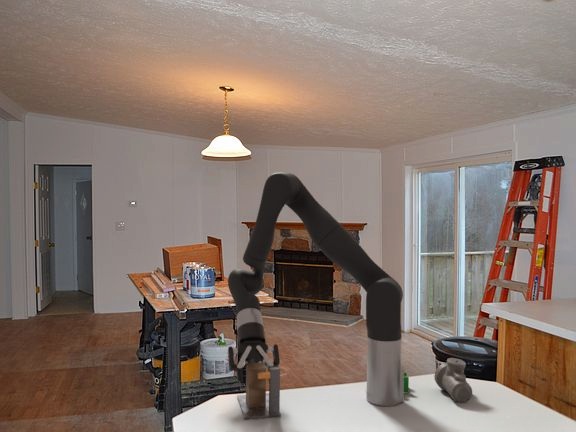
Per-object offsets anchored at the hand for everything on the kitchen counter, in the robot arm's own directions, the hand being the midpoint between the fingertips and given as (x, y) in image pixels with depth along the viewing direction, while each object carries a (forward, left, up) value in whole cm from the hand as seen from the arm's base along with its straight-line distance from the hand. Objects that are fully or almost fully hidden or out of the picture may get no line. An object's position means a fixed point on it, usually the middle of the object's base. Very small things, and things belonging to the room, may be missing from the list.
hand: (256, 382), depth 130 cm
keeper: (0, -1, -6) cm, 7 cm away
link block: (0, -1, -6) cm, 6 cm away
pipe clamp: (-43, -6, -7) cm, 44 cm away
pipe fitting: (-56, +2, -7) cm, 56 cm away
